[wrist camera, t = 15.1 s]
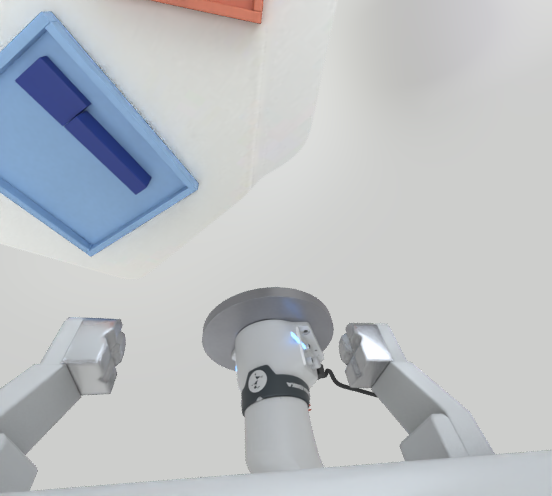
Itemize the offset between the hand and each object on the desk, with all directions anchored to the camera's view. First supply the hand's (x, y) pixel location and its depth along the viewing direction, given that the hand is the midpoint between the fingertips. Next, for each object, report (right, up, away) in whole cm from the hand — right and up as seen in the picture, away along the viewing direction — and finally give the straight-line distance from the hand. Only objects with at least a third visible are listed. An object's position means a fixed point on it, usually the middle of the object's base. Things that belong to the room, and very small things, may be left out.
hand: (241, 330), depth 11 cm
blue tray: (-21, +13, +23) cm, 34 cm away
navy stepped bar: (-18, +15, +21) cm, 31 cm away
